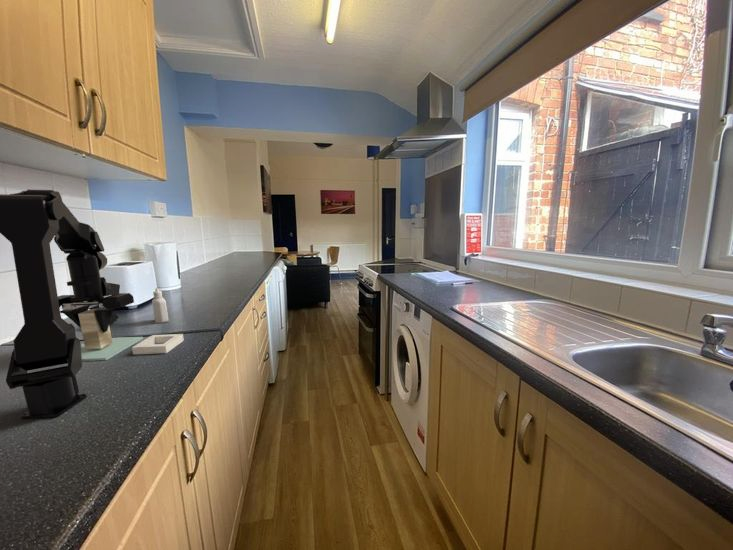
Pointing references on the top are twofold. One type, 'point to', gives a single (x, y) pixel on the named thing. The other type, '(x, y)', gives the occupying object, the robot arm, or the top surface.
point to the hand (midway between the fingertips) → (96, 332)
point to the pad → (108, 349)
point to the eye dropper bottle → (159, 307)
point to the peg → (93, 331)
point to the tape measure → (113, 318)
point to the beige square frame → (152, 348)
